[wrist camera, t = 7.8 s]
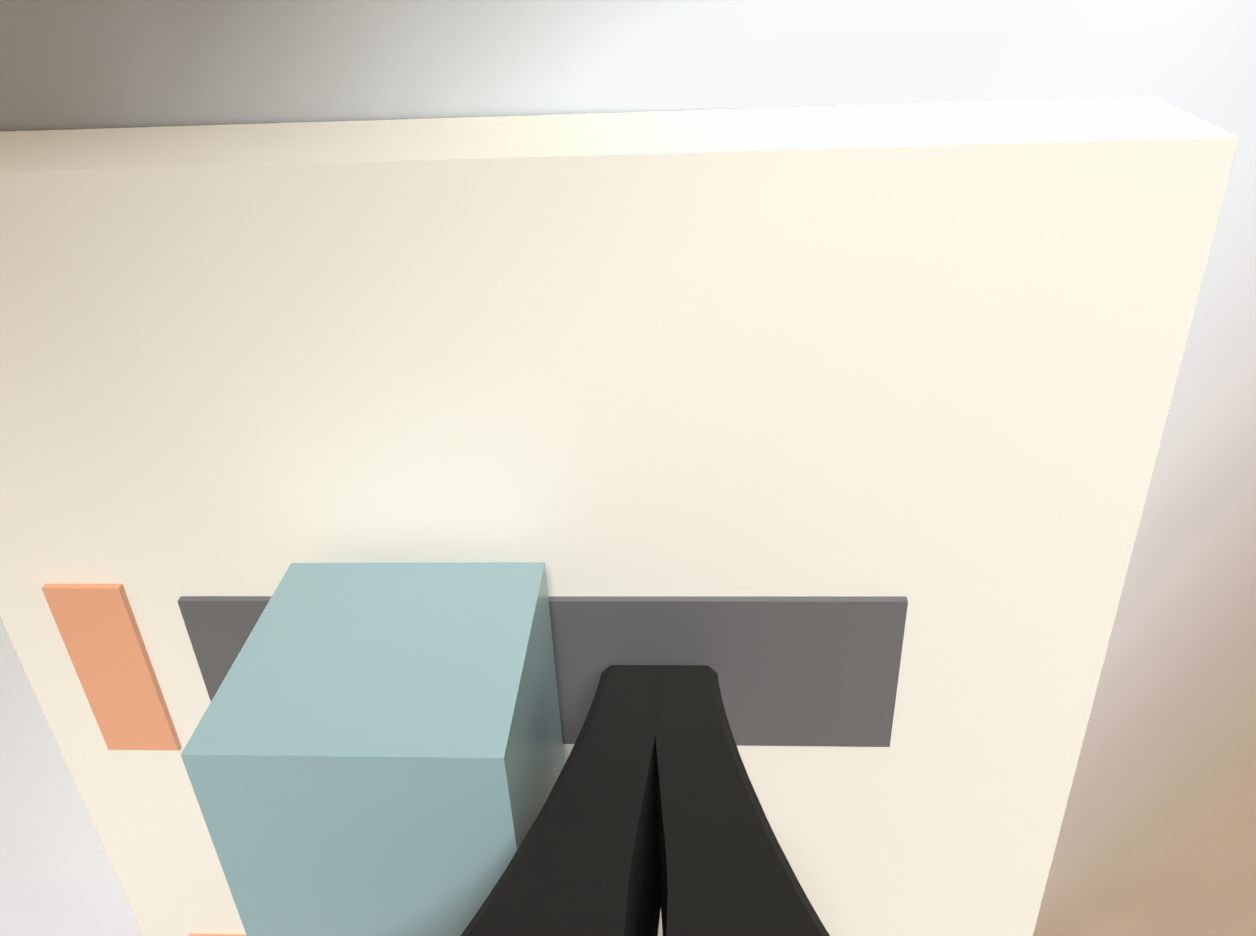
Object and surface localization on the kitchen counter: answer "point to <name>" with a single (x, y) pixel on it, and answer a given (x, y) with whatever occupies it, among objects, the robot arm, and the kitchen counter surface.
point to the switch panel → (615, 439)
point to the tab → (381, 746)
